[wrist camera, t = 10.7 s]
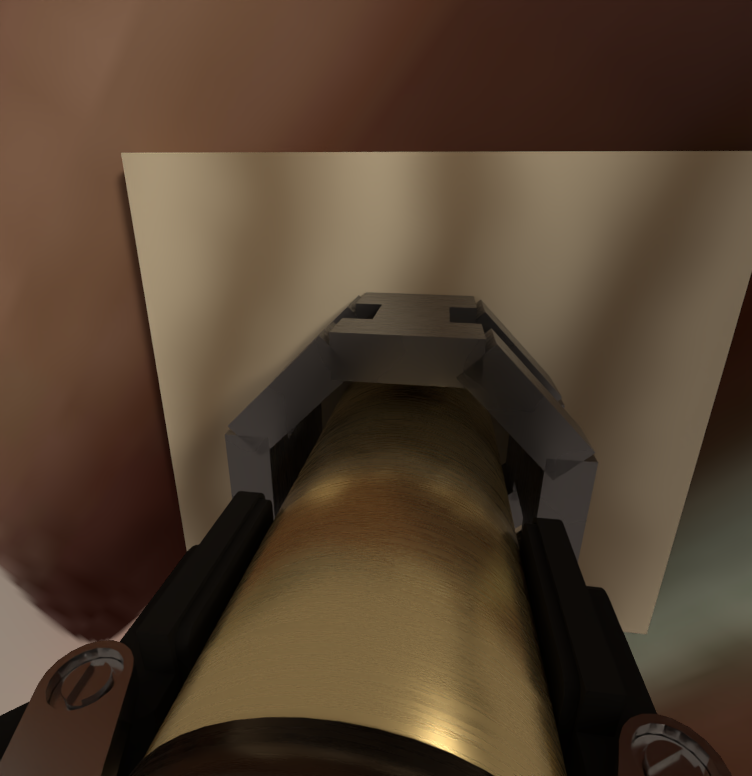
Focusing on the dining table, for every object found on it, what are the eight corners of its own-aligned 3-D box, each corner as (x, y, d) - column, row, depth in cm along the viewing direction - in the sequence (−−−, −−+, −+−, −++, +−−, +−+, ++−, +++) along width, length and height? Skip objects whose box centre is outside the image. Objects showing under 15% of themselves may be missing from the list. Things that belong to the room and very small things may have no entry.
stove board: (764, 154, 14) (786, 150, 13) (637, 614, 21) (646, 634, 20) (139, 155, 17) (120, 152, 16) (202, 566, 23) (191, 581, 22)
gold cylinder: (502, 361, 15) (807, 1200, 2) (486, 509, 17) (602, 1391, 4) (330, 352, 16) (-151, 963, 3) (334, 495, 18) (53, 1222, 5)
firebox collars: (564, 298, 15) (622, 345, 10) (528, 536, 19) (558, 659, 14) (284, 289, 17) (212, 326, 11) (297, 514, 20) (246, 620, 15)
